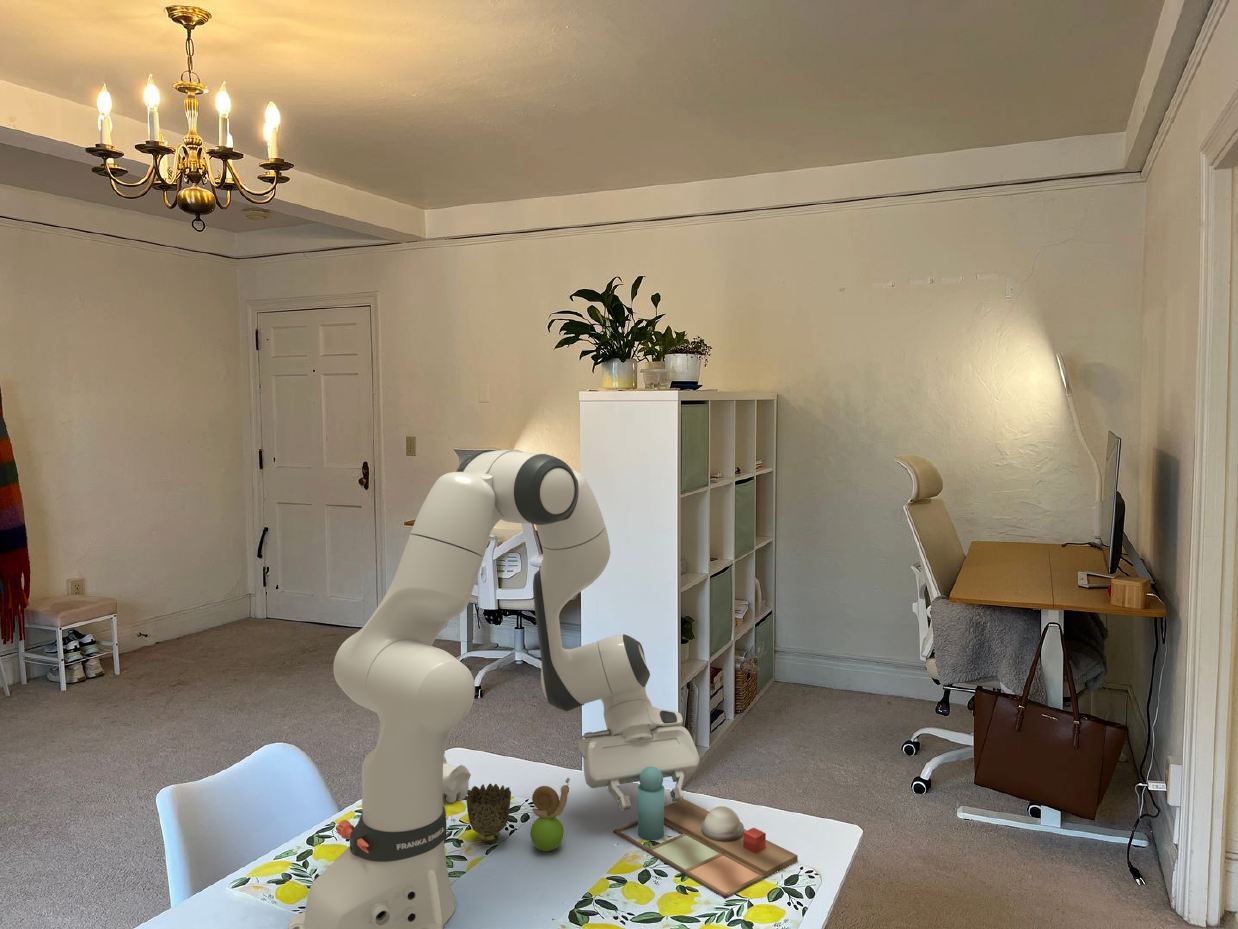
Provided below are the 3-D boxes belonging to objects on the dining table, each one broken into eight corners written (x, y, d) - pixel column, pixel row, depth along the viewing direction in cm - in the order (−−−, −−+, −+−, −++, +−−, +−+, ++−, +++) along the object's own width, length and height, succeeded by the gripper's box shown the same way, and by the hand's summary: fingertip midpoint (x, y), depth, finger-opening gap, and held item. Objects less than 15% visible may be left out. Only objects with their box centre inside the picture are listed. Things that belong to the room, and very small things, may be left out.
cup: (507, 851, 139) (507, 803, 139) (462, 850, 140) (461, 802, 139) (514, 829, 147) (514, 783, 146) (471, 828, 147) (470, 782, 147)
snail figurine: (564, 860, 137) (564, 786, 136) (526, 855, 138) (525, 782, 137) (573, 843, 142) (573, 772, 141) (535, 839, 144) (535, 768, 143)
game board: (725, 905, 126) (725, 865, 126) (613, 838, 146) (613, 803, 146) (797, 867, 137) (798, 830, 136) (683, 809, 157) (683, 777, 156)
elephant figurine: (412, 800, 158) (411, 762, 157) (456, 784, 164) (456, 747, 164) (436, 814, 152) (435, 775, 152) (480, 797, 159) (480, 759, 159)
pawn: (649, 843, 142) (650, 775, 142) (632, 833, 146) (632, 766, 145) (669, 835, 145) (669, 768, 144) (651, 825, 148) (652, 760, 148)
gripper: (579, 725, 147) (597, 806, 139) (689, 712, 154) (712, 788, 146) (571, 742, 152) (588, 821, 143) (678, 728, 159) (701, 803, 150)
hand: (652, 804), depth 144 cm, fingers open, 8 cm apart
